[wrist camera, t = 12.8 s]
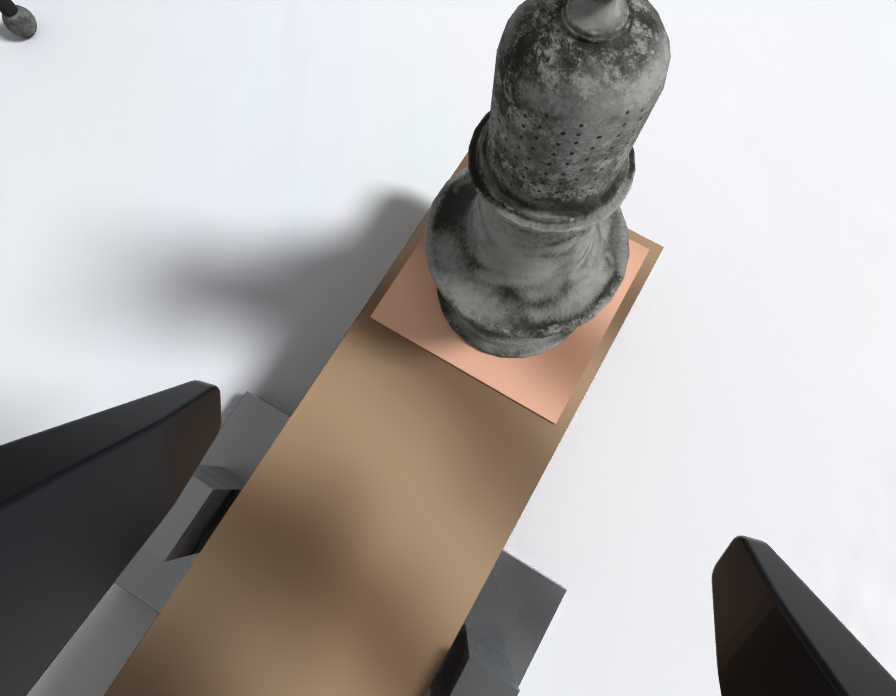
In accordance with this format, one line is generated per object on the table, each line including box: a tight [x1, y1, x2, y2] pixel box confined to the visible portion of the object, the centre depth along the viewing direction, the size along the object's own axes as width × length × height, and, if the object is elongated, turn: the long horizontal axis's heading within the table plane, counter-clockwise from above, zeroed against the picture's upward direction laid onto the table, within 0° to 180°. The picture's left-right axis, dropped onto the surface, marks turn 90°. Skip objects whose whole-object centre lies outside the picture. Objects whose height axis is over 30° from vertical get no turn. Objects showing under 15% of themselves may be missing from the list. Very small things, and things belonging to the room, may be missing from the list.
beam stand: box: [115, 392, 566, 696], centre depth 18 cm, size 8×14×5 cm, turn 59°
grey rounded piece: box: [424, 0, 671, 358], centre depth 13 cm, size 6×6×12 cm
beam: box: [104, 153, 664, 696], centre depth 16 cm, size 32×8×2 cm, turn 149°
